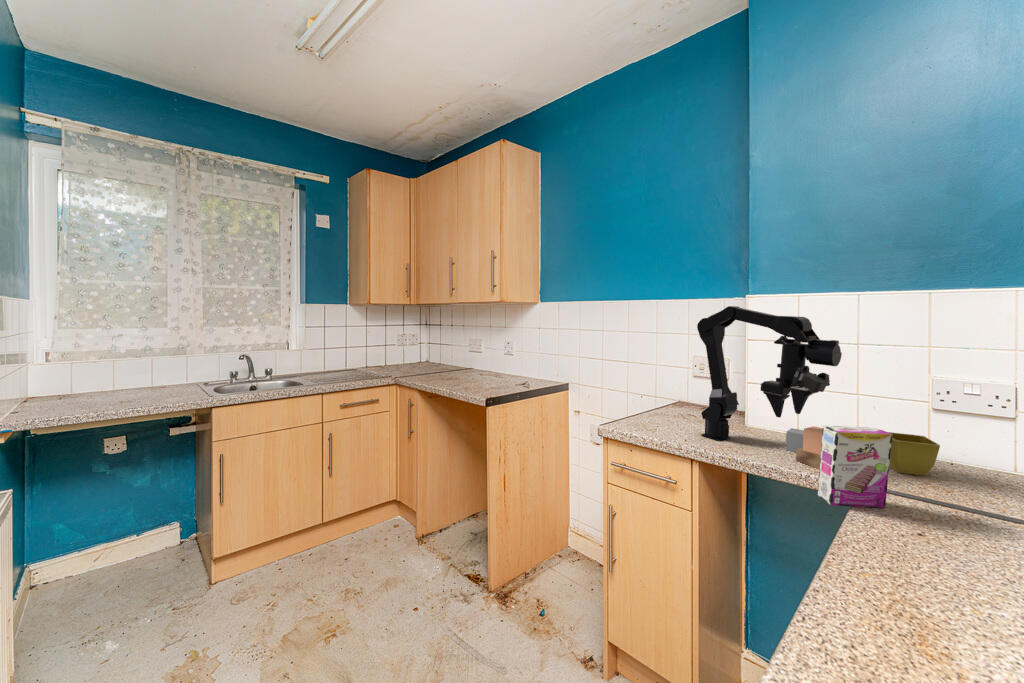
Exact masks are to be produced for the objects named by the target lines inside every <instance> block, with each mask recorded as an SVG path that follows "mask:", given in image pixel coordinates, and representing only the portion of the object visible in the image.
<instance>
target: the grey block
mask: <svg viewBox="0 0 1024 683" xmlns="http://www.w3.org/2000/svg"><path fill="white" fill-rule="evenodd" d="M785 433H786V436H785V438H786V439H785V452H788V451H790V453H793V452H794V453H793V454H796V449H799V448H803V436H804V429H798V428H790V429H788V430H786V432H785Z"/></svg>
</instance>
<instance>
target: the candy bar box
mask: <svg viewBox="0 0 1024 683" xmlns="http://www.w3.org/2000/svg"><path fill="white" fill-rule="evenodd" d="M822 428H823V434H822V447H821V461H820V471H819V472H818V473H819V475H818V486H817V487H818V488H817V497H818V498H820V499H822V501H824V502H825V503H826V504H828V505H829V506H840V507H856V508H857V507H859V508H876V509H878V508H879V509H886V504H887V503H886V502H887V493H888V483H889V472H890V471H889V470H890V453H891V443H892V434H890V433H888V432H889V431H885V430H883V429H879V428H877V427H867V426H865V427H864V426H860V427H859V426H836V425H823V427H822Z"/></svg>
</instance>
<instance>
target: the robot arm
mask: <svg viewBox="0 0 1024 683" xmlns="http://www.w3.org/2000/svg"><path fill="white" fill-rule="evenodd" d="M735 321H739V322H743V323H748V324H750V325H757V326H760V327H764V328H768V329H771V330H773V331H774V332H775V333H777V334H780V335H781V336H780V337H779V338H777V339H776V340H775V341H774V342H773V344H776V345H782V346H781V356H780V357H781V359H780V363H777V364H776V367H777V368H779V370H780V371H779V377H775V380H766V381H763V382H761V383H760V391H761V392H763V394H764V395H765V397H766V398H767V400H768V401H769V404H770V407H771V408H772V411H773V413H774V415H775V417H776V418H781V417H782V414H783V409H784V404H785V401H786V400H787V399H788V398H789V397H791V398H792V404H793V410H794V413H795V414H797V415H800V414H801V412H802V411H803V408H804V406H805V404H806V403H807V400H808V399H809V397H810V396H812V395H814V394H818V393H823V392H824V391H825V390H826V387H829V386H830V385H831V383H830V381H831V380H830V375H829V374H828V373H826V372H820V373H818V374H817V373H813V372H810V367H809V365H806V361H808V362H809V363H810V364H813V365H821V366H829V367H837V366H839V365H840V363H841V360H842V354H843V353H842V350H841V346H840V340H838V339H837V340H835V339H834V340H833V339H830V340H825V339H821V338H819V336H818V335H817V333H816V332H815V330H814V329H813V324H812V322H811V321H810V319H809V318H807V317H805V316H793V315H777V314H776V315H775V314H771V313H766V312H762V311H756V310H753V309H747V308H742V307H740V306H736V305H735V306H734V305H732V306H726V307H725V308H723V309H722V310H720V311H718V312H716V313H713V314H712V315H709V316H708V317H704V318H701V319H700V320H699V322H698V323H697V325H696V326H697V327H696V328H697V331H698V332H697V333H698V334H699V335H698V336H699V338H700V340H701V341H702V342H703V344H704V345H705V350H706V356H707V363H708V369H709V370H708V371H709V377H710V384H711V390H710V394H709V398H708V407H706V408H705V409H704V410H703V411H701V412H700V413H701V416H702V417H701V418H702V419H703V420H704V433H701V435H700V436H702V437H705V438H708V439H711V440H715V441H724V440H728V439H731V436H730V425H729V420H728V419H731V418H732V417H733V416H732V415H733V414H735V413H736V411H737V410H738V406H739V405H740V403H739V402H738V394H737V392H736V391H735V392H732V391H731V389H730V388H729V382H728V377H727V369H726V362H725V355H724V350H723V342H724V338H725V334H726V328H728V327H729V326H731V325H732V324H733V323H734V322H735ZM790 393H791V394H790Z"/></svg>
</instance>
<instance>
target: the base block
mask: <svg viewBox="0 0 1024 683" xmlns="http://www.w3.org/2000/svg"><path fill="white" fill-rule="evenodd" d="M796 461H797V462H800V463H802V464H801V465H803V464H805V465H808V466H810V467H809V468H811V467H813V468H816V469H819V470H820V461H821V455H818V454H815V453H811V452H808V451H804V450H803V448H799V449H796V453H795V462H796ZM797 462H796V463H797ZM800 463H799V464H800ZM805 465H804V466H805ZM808 466H807V467H808ZM813 468H812V469H813ZM816 469H815V470H816ZM819 470H818V471H819Z"/></svg>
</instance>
